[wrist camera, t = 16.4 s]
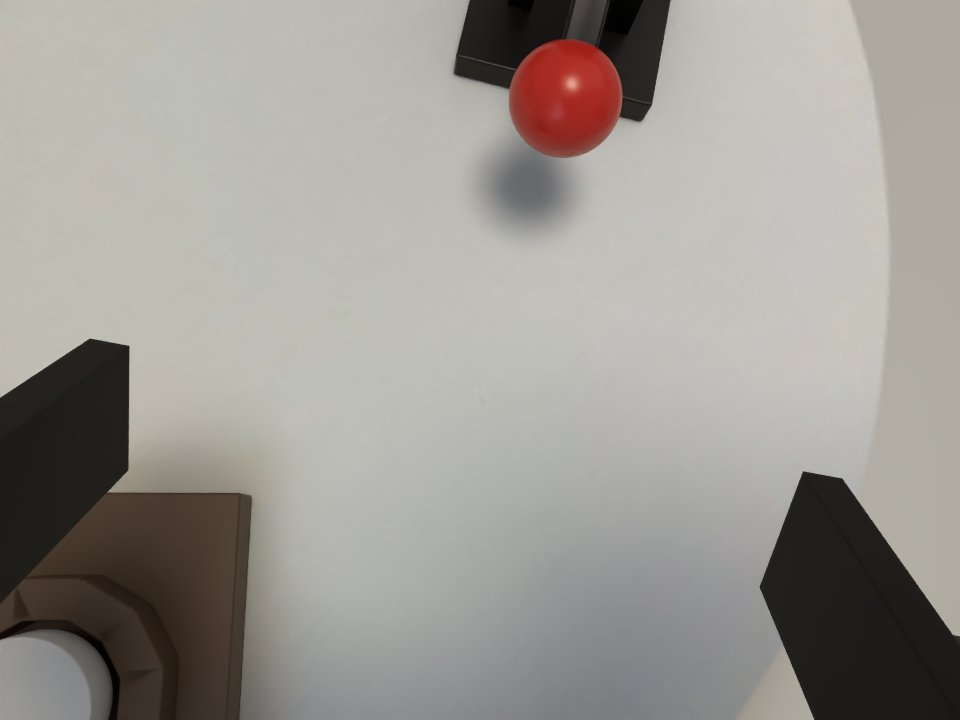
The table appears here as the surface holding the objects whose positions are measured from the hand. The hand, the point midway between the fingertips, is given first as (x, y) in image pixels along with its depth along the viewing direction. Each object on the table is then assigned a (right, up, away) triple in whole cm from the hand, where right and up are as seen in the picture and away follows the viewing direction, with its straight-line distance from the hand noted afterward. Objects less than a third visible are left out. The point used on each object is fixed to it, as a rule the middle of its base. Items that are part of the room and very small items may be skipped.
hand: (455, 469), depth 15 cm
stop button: (-12, -8, +7) cm, 16 cm away
